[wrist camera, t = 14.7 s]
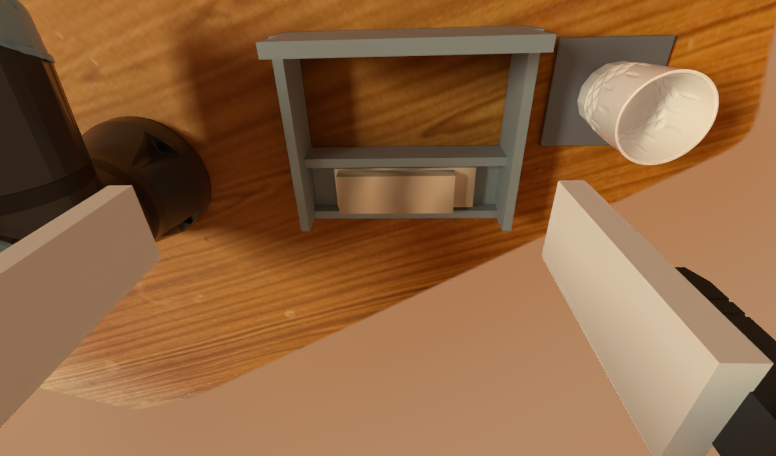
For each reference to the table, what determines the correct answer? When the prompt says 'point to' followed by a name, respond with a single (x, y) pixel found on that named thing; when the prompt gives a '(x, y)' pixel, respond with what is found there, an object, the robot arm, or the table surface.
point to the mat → (574, 69)
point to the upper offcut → (395, 191)
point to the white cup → (649, 109)
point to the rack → (492, 162)
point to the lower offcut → (462, 174)
